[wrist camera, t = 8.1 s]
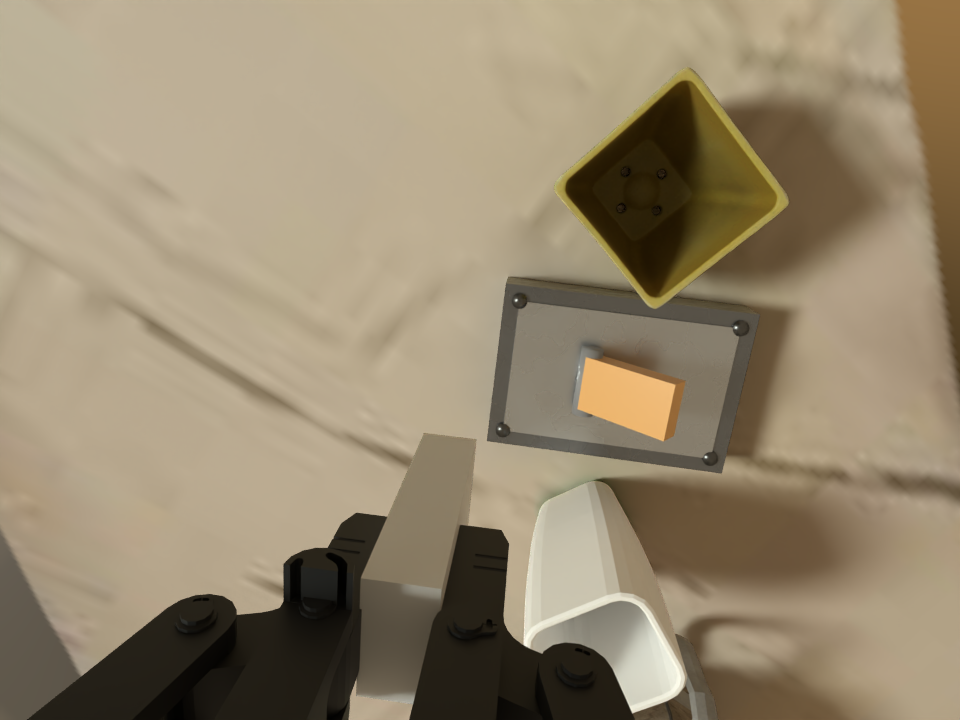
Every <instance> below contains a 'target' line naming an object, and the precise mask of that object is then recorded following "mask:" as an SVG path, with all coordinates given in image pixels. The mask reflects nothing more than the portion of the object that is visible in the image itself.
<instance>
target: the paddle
mask: <svg viewBox="0 0 960 720" xmlns="http://www.w3.org/2000/svg"><path fill="white" fill-rule="evenodd" d="M603 354H604V350H603V349H602V348H599V347H595V346H582V349H581V356H580V362H579V368H578V374H577V380H576V387H575V393H574V399H573V405H572V413H573V414H574V415H576V416H579V417H592V416H593V415H594V416H597V417H600V418H602V419H605V420H608V421H610V422H613V423H616V424H618V425H621V426H624V427H626V428H629V429H632V430H634V431H637V432H640V433H642V434H645V435H648V436H650V437H653V438H656V439H658V440H661V441H665V440H667V439H669V438H671V437H673V436H674V433H675V429H676V424H677V419H678V415H679V410H680V405H681V401H682V396H683V391H684V387H685V382H686V381H685V380H681V379H678V378H675V377H671V376H668V375H665V374H662V373H658V372H655V371H652V370H648V369H645V368H642V367H638V366H635V365H632V364H628V363H625V362H622V361H619V360H615V359H612V358H609V357H605V356H603Z"/></svg>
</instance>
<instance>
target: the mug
mask: <svg viewBox="0 0 960 720" xmlns="http://www.w3.org/2000/svg"><path fill="white" fill-rule="evenodd" d="M675 636H676V639H677V643H678V646H679V649H680V653H681V656H682V659H683V663H684V666H685V669H686V673H687V679H686V684H685V687H684V688H683V689H682V691H681V692H680V693H679V694H678V695H677V696H675V697H674V698H672V699H670V700H668V701H666V702H663V703H660V704H657V705H655V706H652V707H649V708H646V709H643V710H640V711H638V712H635V713H632V714H633V716H634V718H635V720H718V716H717V710H716V705H715V700H714V698H713V695H712V693H711V691H710V689H709V687H708V684H707V682H706V680H705V677H704V675H703V672H702V669H701V666H700V663H699V660H698V658H697V655H696V653H695V650H694V648H693V646H692V644H691V643H690V642H689V641H688V640H686V639H685V638H684V637H682V636H680V635H678V634H675Z"/></svg>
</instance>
